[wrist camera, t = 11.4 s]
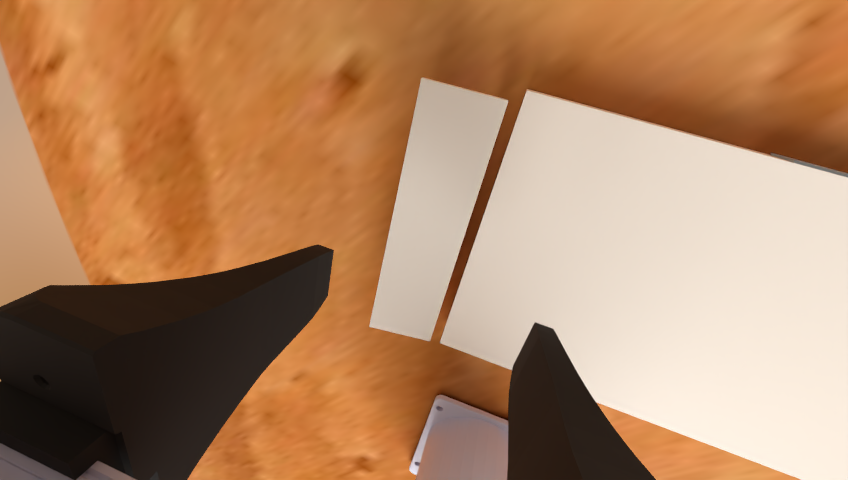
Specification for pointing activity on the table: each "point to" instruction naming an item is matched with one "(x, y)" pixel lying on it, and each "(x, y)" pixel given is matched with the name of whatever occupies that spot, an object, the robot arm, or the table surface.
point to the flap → (434, 203)
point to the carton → (671, 280)
